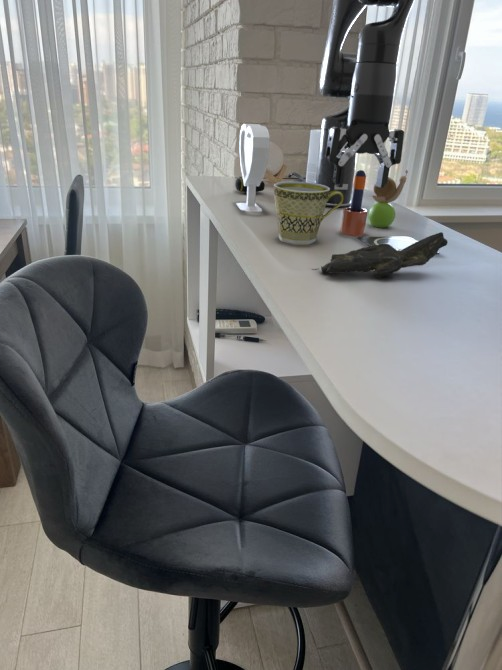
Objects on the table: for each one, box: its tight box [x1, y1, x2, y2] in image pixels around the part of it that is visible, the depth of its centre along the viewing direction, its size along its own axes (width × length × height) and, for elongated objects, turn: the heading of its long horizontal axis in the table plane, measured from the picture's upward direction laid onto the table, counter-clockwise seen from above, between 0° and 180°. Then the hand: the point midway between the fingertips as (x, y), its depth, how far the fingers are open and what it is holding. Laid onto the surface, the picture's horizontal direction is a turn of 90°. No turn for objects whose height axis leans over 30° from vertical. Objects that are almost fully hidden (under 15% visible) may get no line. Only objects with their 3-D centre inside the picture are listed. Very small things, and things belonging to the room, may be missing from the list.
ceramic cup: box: [273, 180, 343, 245], centre depth 92 cm, size 13×10×10 cm
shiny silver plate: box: [356, 235, 440, 255], centre depth 94 cm, size 11×11×1 cm
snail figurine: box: [367, 169, 409, 229], centre depth 104 cm, size 5×6×12 cm
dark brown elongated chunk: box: [320, 231, 449, 279], centre depth 78 cm, size 6×6×20 cm
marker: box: [350, 169, 367, 212], centre depth 98 cm, size 2×2×12 cm
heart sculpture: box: [235, 123, 271, 213], centre depth 113 cm, size 16×5×18 cm, turn 11°
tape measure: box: [234, 176, 266, 195], centre depth 134 cm, size 7×7×4 cm
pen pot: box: [340, 206, 369, 237], centre depth 99 cm, size 4×5×5 cm
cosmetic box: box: [305, 129, 321, 183], centre depth 145 cm, size 8×7×16 cm
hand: (359, 186), depth 96 cm, fingers open, 8 cm apart
